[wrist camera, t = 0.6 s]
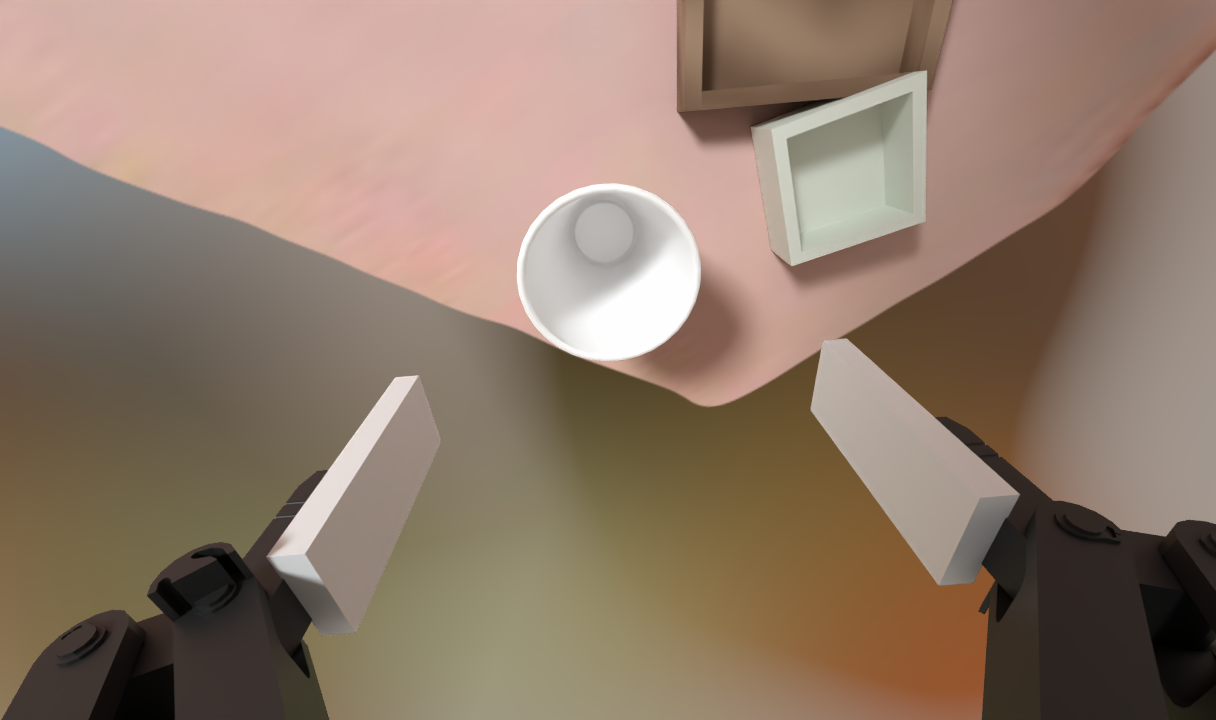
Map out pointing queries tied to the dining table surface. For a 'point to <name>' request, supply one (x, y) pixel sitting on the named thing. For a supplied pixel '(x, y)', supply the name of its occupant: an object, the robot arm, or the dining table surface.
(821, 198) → the small crate
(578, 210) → the cup
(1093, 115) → the dining table surface
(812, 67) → the brown square tray
